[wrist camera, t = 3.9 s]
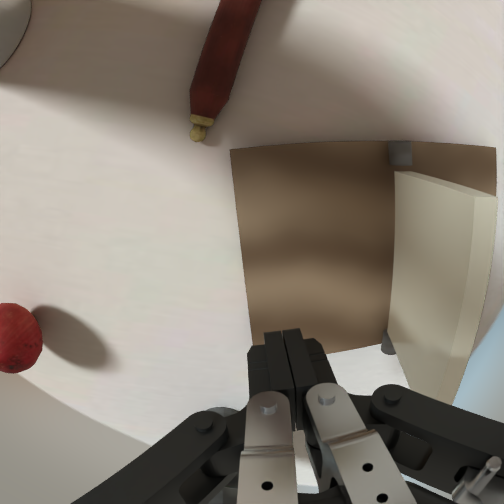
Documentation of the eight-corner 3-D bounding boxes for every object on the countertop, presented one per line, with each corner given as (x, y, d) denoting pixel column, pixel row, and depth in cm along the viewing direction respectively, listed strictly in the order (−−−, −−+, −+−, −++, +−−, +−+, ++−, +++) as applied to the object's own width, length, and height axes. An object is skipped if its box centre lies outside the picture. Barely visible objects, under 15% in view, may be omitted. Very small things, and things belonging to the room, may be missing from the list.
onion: (65, 319, 23) (19, 373, 15) (46, 354, 24) (7, 406, 16) (19, 276, 22) (-36, 318, 14) (4, 315, 23) (-42, 358, 15)
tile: (474, 196, 9) (500, 197, 9) (394, 171, 18) (412, 171, 18) (424, 428, 13) (445, 424, 12) (387, 331, 22) (402, 329, 22)
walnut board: (229, 149, 20) (228, 149, 17) (488, 147, 20) (509, 149, 17) (254, 356, 25) (256, 378, 22) (473, 312, 25) (489, 325, 22)
